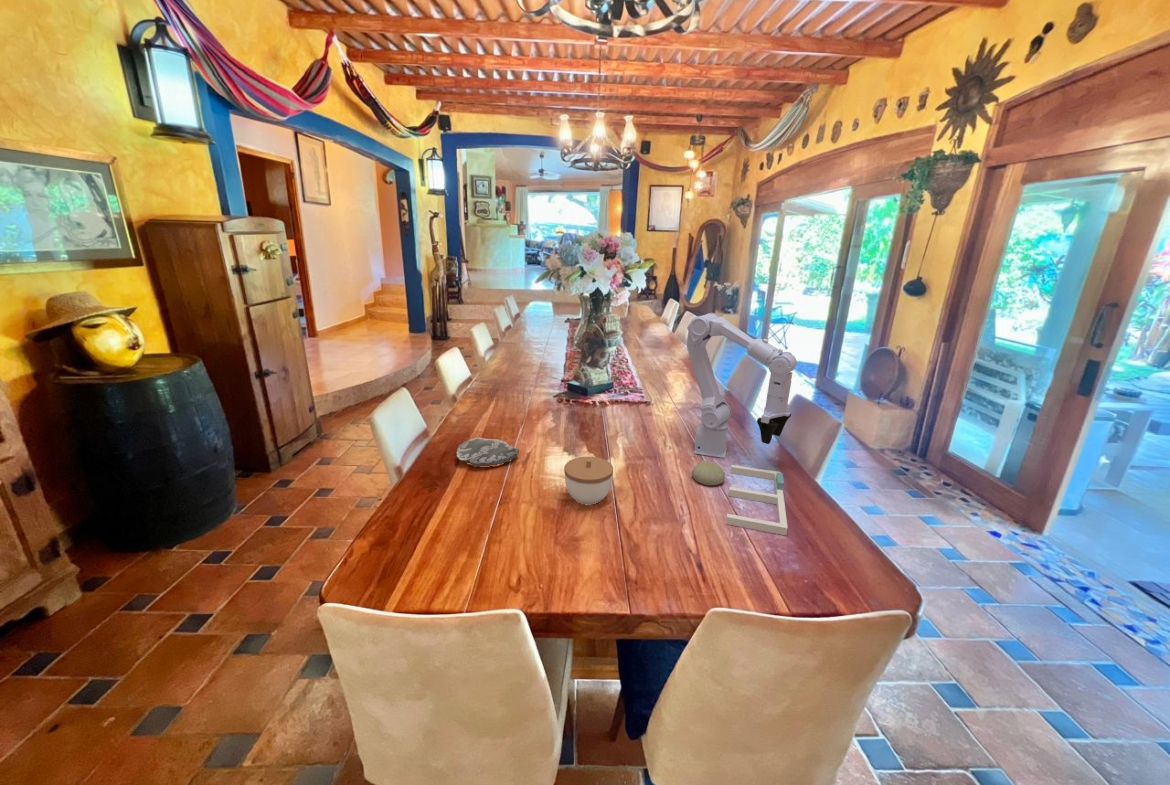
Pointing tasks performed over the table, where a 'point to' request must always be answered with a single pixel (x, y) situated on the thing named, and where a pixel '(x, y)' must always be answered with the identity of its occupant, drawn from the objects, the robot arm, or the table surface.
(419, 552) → the table surface
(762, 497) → the comb rack
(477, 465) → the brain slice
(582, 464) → the lidded bowl
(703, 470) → the sea urchin shell
